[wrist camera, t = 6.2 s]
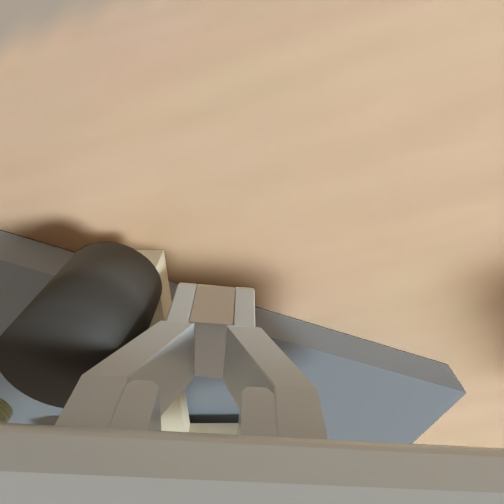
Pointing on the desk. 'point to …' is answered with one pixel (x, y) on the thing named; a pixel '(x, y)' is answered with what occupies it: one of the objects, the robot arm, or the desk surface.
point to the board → (290, 342)
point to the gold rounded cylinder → (5, 411)
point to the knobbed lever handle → (91, 326)
